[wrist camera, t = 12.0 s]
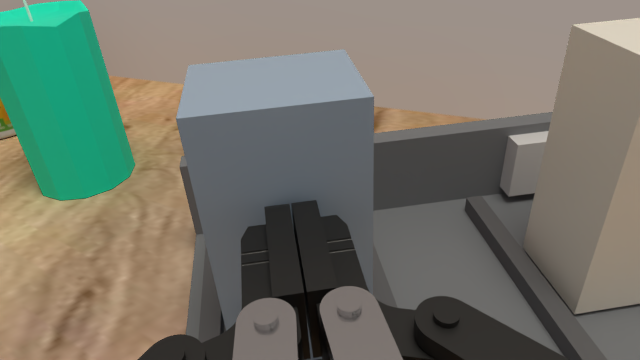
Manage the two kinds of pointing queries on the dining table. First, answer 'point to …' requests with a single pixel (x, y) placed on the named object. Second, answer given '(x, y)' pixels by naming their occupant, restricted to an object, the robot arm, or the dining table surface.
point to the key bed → (457, 237)
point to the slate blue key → (277, 152)
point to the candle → (62, 100)
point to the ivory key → (592, 173)
